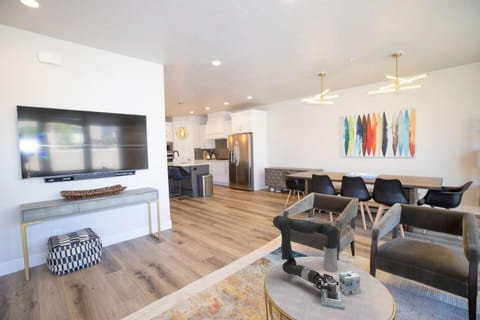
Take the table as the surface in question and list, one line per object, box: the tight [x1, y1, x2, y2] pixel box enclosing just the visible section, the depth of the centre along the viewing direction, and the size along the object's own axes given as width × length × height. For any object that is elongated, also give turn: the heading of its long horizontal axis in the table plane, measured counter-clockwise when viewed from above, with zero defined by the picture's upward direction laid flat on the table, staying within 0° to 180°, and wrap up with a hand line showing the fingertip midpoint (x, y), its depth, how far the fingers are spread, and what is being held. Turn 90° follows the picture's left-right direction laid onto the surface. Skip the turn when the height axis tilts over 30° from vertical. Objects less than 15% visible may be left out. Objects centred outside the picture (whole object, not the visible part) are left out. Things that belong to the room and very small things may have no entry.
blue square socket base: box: [320, 289, 345, 311], centre depth 132 cm, size 12×12×4 cm
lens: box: [326, 277, 337, 300], centre depth 131 cm, size 5×5×11 cm
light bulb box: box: [338, 270, 361, 296], centre depth 140 cm, size 11×7×11 cm, turn 101°
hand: (334, 286), depth 130 cm, fingers open, 8 cm apart
